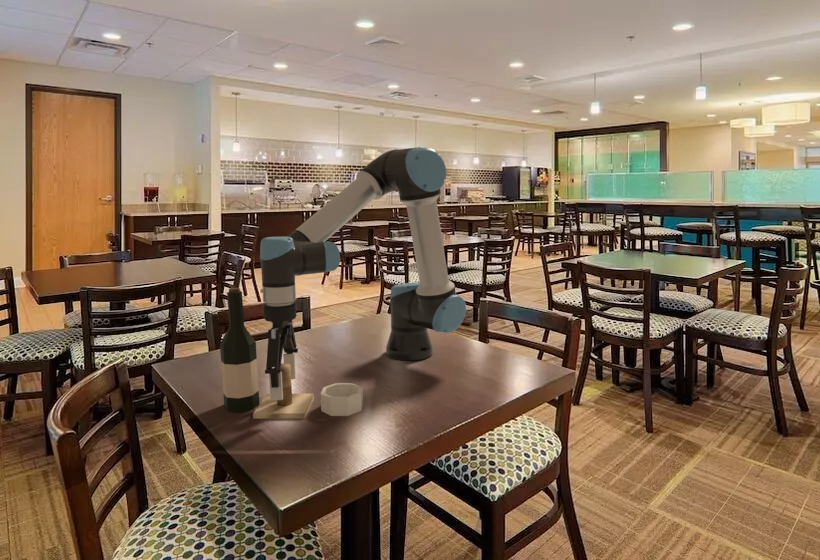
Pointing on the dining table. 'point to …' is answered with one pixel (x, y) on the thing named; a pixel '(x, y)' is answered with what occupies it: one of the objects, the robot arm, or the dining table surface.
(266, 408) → the beech lid
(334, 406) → the bowl
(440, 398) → the dining table surface
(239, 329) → the wine bottle
